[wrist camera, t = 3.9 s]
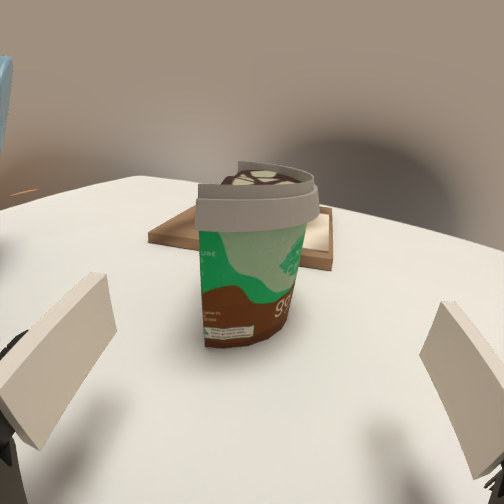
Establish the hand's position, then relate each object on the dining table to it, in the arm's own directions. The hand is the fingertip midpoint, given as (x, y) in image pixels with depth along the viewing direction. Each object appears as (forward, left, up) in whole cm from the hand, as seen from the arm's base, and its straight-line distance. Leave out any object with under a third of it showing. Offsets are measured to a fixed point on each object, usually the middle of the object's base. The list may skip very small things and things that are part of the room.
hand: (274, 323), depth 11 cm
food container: (-2, +9, -6) cm, 11 cm away
